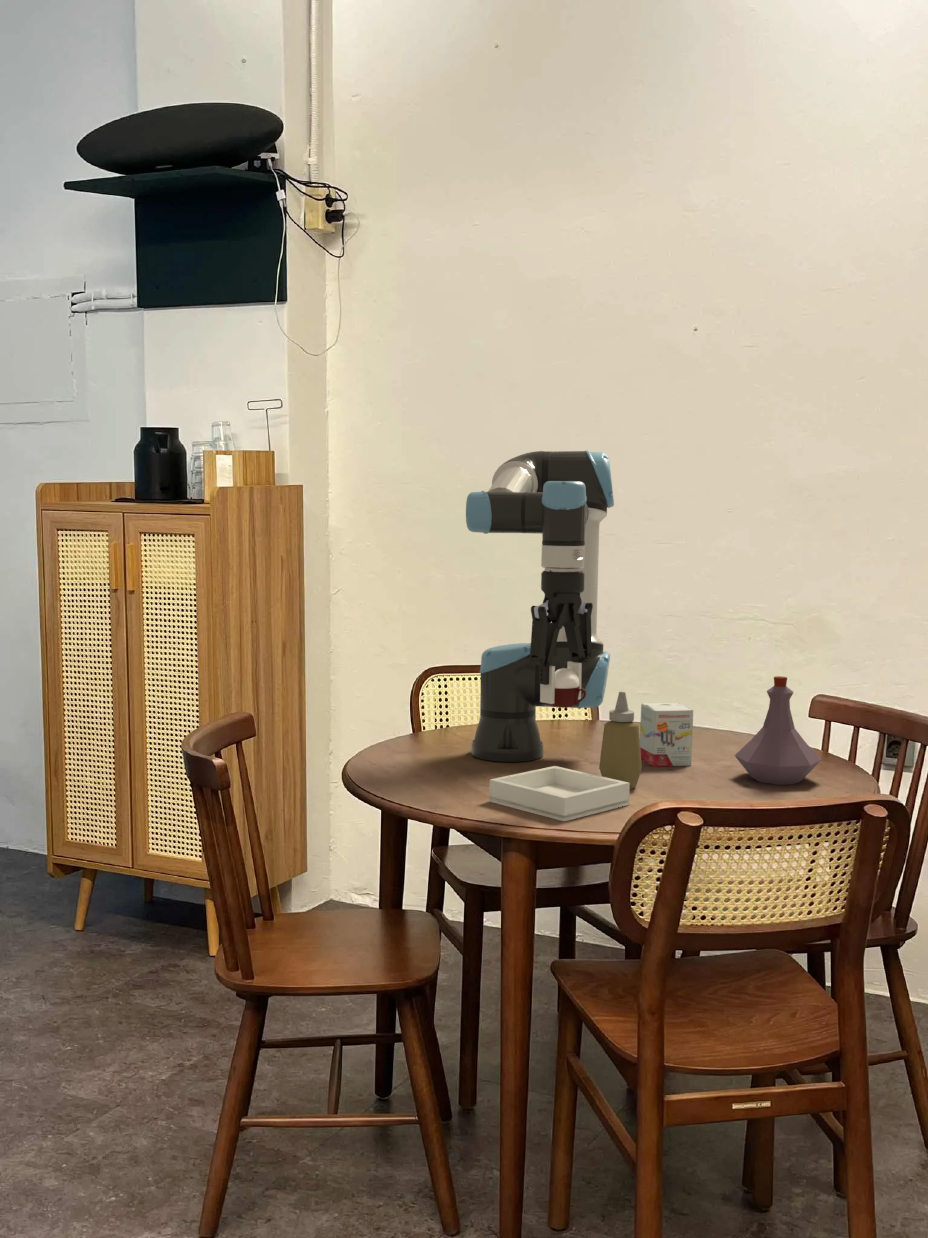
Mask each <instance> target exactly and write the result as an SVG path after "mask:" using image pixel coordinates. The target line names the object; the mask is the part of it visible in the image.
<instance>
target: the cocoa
mask: <svg viewBox="0 0 928 1238" xmlns="http://www.w3.org/2000/svg"><path fill="white" fill-rule="evenodd" d="M545 658H546V657H545ZM579 691H583V693H584V695H583V697H582V698H581V699H580V700H578V697H579ZM585 696H586V691H585V689H580V686H579V678H578V676H577V674H576V673H575V672H573V671H571V670H570V669H567V668H562V669H559V670H557V671H556V672H555V696H554V704H550V705H551V706H553V707H552V708H561V709H562V708H567V707H572V706H573V705H575V704H577V703H579V702H581V701H582V700H583V699H584V698H585ZM577 700H578V701H577Z"/></svg>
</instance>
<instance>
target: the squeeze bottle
mask: <svg viewBox="0 0 928 1238" xmlns="http://www.w3.org/2000/svg"><path fill="white" fill-rule="evenodd" d="M608 714H609V716H608V717H609V718H608V720H609V721H607V722H605V723H604V725H603V732H602V734H603V735H602V741H601V742H602V743H601V750H600V757H599V768H598V769H599V772H600V776H602V777H606V778H611V779H615V780H620V781H624V782H628V783H630V788H629V790H630V789H635V788H636V786H637V784H638V781H639V778H640V775H641V773H642V770H643V767H642V760H641V751H640V726H639V724H638V723H637V722H635V711H634V710H630V709H629V704H628V699H627V695H626V692H625V691H619V692H618V695H617V700H616V703H615V708H614V709H612V710H611V709H610V710H609V713H608Z"/></svg>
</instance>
